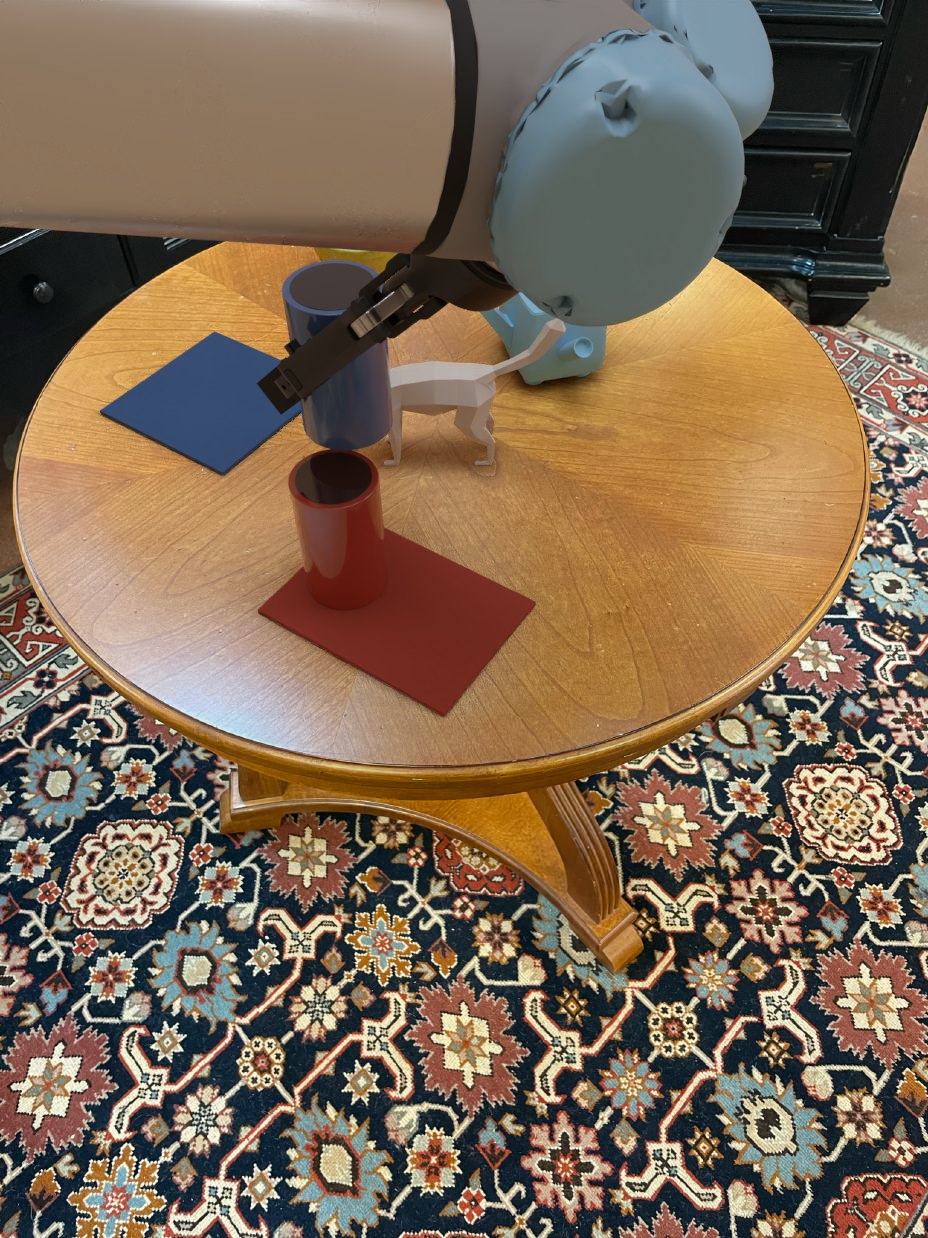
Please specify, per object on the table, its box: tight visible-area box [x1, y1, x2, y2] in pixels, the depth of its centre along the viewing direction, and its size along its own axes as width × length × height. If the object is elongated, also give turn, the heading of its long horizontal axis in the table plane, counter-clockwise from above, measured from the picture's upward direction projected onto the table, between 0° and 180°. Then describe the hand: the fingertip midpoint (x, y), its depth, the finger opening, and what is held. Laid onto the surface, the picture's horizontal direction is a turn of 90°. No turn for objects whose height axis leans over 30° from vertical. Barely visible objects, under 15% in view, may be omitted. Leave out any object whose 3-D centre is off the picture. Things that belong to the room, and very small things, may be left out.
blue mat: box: [99, 330, 301, 476], centre depth 93 cm, size 16×16×1 cm
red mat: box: [257, 527, 537, 718], centre depth 76 cm, size 18×13×1 cm
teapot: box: [479, 292, 608, 386], centre depth 94 cm, size 18×14×10 cm
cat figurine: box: [383, 318, 566, 467], centre depth 83 cm, size 4×20×14 cm, turn 91°
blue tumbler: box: [281, 260, 393, 451], centre depth 66 cm, size 7×7×11 cm
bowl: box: [312, 247, 398, 274], centre depth 106 cm, size 11×12×6 cm
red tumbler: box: [287, 448, 388, 610], centre depth 74 cm, size 7×7×11 cm
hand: (306, 370), depth 69 cm, fingers closed on blue tumbler, 7 cm apart
